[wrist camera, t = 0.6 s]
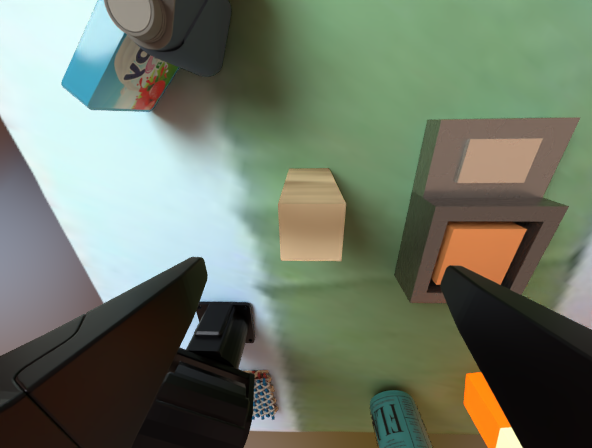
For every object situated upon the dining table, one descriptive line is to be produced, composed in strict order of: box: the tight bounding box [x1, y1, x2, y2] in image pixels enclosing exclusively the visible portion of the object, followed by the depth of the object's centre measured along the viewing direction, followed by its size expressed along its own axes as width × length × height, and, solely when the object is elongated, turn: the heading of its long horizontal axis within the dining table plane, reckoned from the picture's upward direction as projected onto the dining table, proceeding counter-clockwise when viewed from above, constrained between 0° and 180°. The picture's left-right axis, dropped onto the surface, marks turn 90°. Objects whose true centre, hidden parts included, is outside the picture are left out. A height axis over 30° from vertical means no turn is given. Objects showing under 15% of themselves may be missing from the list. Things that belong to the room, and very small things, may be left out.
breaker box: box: [394, 118, 580, 303], centre depth 19 cm, size 15×9×4 cm, turn 1°
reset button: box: [431, 221, 527, 285], centre depth 19 cm, size 6×6×2 cm
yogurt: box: [62, 0, 179, 112], centre depth 13 cm, size 12×2×6 cm, turn 135°
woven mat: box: [244, 370, 278, 420], centre depth 34 cm, size 10×11×2 cm
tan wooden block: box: [278, 168, 346, 261], centre depth 16 cm, size 4×4×9 cm
